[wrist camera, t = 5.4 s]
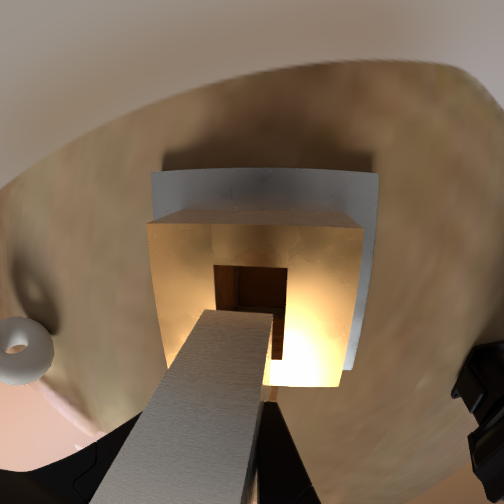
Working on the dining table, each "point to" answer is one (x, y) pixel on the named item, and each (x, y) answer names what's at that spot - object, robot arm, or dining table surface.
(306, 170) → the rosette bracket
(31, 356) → the donut
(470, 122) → the dining table surface
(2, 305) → the dining table surface
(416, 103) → the dining table surface
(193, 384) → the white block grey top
